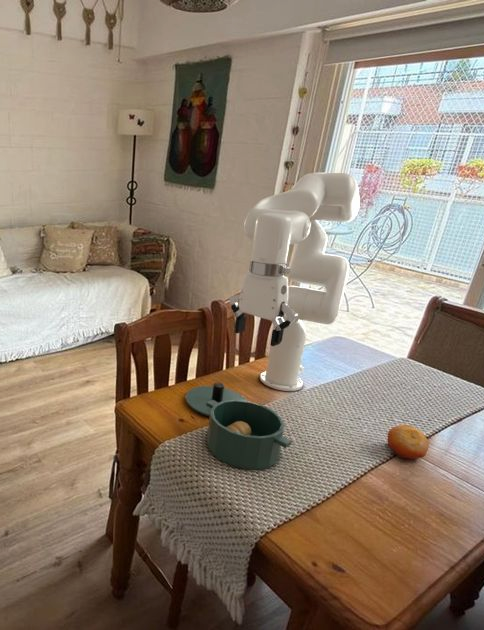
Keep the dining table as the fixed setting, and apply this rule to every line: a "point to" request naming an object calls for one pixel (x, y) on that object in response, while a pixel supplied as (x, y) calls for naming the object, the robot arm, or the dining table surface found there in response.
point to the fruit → (407, 442)
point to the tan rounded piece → (240, 428)
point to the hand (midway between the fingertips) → (256, 338)
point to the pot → (245, 448)
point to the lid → (210, 397)
